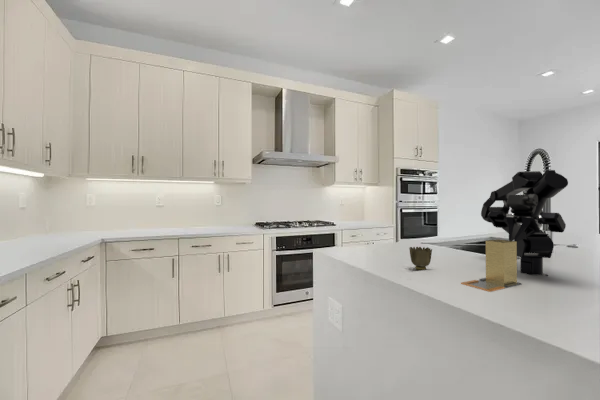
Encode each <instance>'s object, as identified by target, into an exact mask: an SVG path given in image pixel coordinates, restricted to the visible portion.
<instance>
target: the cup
mask: <svg viewBox="0 0 600 400" xmlns="http://www.w3.org/2000/svg"><path fill="white" fill-rule="evenodd" d="M408 249H409V256H410V260H411V264H412V265H414V266H415V267H414V269H415V270H416V271H417V272H421V271H426V270H427V267H428V266H429V265H430V264H431V260H432V252H433V248H430V247H428V246H427V247H425V246H422V247H421V246H413V247H412V246H409V247H408Z"/></svg>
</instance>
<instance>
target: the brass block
mask: <svg viewBox="0 0 600 400" xmlns="http://www.w3.org/2000/svg"><path fill="white" fill-rule="evenodd" d="M517 257H518V256H517V242H516V241H514V240H513V241H509V239H508V240H505V239H490V240H485V278H486V281H487V282H490V283H494V284H498V285H502V286H505V285H508V284H513V283H517V282H518V267H517V266H518V261H517V260H518V259H517Z"/></svg>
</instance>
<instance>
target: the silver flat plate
mask: <svg viewBox="0 0 600 400" xmlns="http://www.w3.org/2000/svg"><path fill="white" fill-rule="evenodd" d="M460 285H464V286H466V287H467V286H468V287H471V288H474V289H477V290H481V291H485V292H488V293H491V292H495V291H500V290H503V289H508V288H509V289H510V288H512V287H517V286H518V287H519V286H522V285H523V283H521V282H518V281H517V283H513V284H508V285H505V286H502V285H498V284H494V283H490V282H487V281H486V277H484V278H483V277H481V278H479V279H478V280H477V279H474V280H473V279H472V280H468V281H462V282H460Z"/></svg>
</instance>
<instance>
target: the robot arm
mask: <svg viewBox="0 0 600 400" xmlns="http://www.w3.org/2000/svg"><path fill="white" fill-rule="evenodd" d="M568 184H569V181H568V178H566V177H565V176H564V175H562V174H561V173H558V172H556V170H555V169H547V170H546V171H545V172H544V173H542V171H539V170H537V171H536V170H535V171H534V170H533V171H518V172H516V173H515V174H514V175H513V176H512V177H511V181H509V182H508V183H506V184H504V185H503V186H501V187H500V188H498V189H495V190H492V191H491V192H490V196H489V198H487V199H486V201H485V202H483V205H482V207H481V210H480V211H481V212H480V215H481V218H482V219H483V220H484V221H486V222H487V223H491V224H492V226H493V227H494V228H501V230H503V231H504V232H505V233H507V234H508V241H516V242H517V257H518V258H520V265H519V266H520V274H526V275H528V276H529V275H530V276H531V275H532V276H533V275H536V276H537V275H539V276H544V277H548V276H549V274H547V273H544V272H543V271H544V268H543V267H544V263H543V262H544V261H543V260H544V258H545V259H551V258H552V254H553V252H554V251H553V250H554V241H553V240H552V238H551V237H550V236H549V233H545V232H544V231H543V230H541V228H542V227H543V225H547V230H548V231H549V232H552V233H553V232H554V233H564V232H565V230H566V227H567V226H566V223H565V221H564V219H563V216H562V215H561V214H560V213H559V212H544V211H543V209H544V207H545V205H546V203H547V201H548V200H549V199H551V198H554V197H556V195H558V194H559V193H560V192H562V191H563V189H565V188H566V187H568ZM524 191H526V193H525V194H520V193H522V192H524ZM496 201H497V202H498V201H499V202H500V201H501V202H503V205H502V206H493V205H494V203H496ZM509 212H511V213H509Z"/></svg>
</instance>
